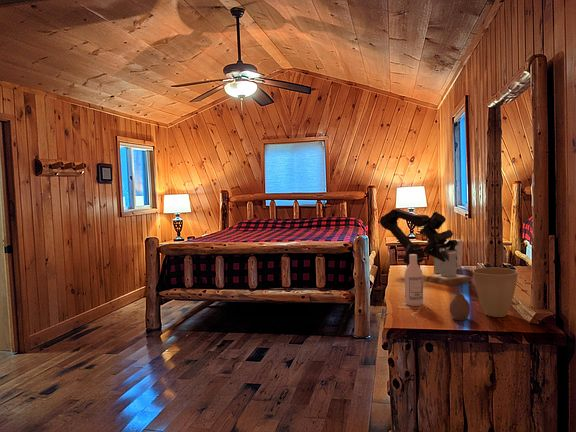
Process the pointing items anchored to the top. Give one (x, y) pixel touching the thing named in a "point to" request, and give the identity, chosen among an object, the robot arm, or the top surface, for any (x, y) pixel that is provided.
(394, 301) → the top surface
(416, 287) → the bath foam
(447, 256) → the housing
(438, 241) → the robot arm
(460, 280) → the stand
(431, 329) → the top surface
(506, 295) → the plant pot
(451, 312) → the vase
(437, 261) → the skincare box
